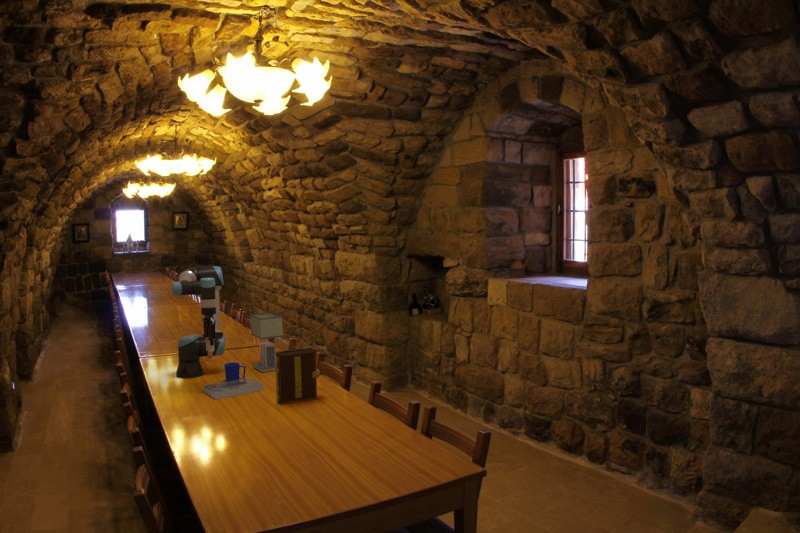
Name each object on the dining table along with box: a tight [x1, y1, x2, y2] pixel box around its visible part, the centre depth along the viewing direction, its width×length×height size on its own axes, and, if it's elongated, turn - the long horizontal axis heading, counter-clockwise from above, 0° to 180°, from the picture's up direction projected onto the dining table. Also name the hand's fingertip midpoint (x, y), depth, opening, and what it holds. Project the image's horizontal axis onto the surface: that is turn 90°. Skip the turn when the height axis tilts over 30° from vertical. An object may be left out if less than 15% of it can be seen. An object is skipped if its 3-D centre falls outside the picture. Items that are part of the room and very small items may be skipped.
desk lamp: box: [249, 312, 284, 373], centre depth 361 cm, size 18×14×33 cm
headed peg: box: [205, 337, 216, 362], centre depth 315 cm, size 5×5×12 cm
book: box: [275, 347, 321, 405], centre depth 296 cm, size 22×8×25 cm, turn 117°
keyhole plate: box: [203, 376, 265, 400], centre depth 315 cm, size 26×17×3 cm, turn 128°
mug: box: [224, 361, 247, 382], centre depth 333 cm, size 8×12×10 cm
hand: (210, 350), depth 316 cm, fingers closed on headed peg, 3 cm apart
